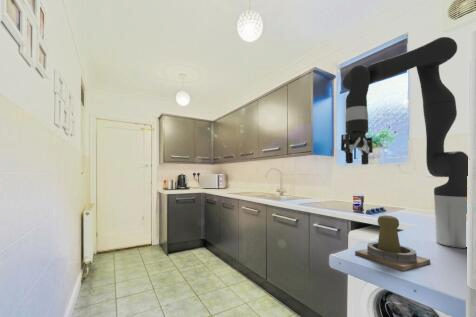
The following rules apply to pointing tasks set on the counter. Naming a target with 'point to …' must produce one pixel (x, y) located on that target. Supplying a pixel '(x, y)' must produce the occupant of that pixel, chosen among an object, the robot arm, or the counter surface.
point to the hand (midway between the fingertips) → (357, 163)
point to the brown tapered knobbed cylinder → (388, 234)
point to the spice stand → (393, 257)
